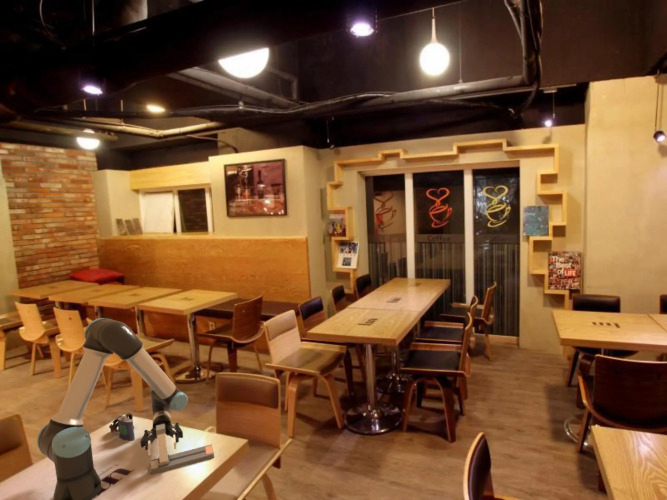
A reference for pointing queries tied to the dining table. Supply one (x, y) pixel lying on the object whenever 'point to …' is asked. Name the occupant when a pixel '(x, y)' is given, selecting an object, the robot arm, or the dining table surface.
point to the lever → (162, 445)
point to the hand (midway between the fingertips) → (162, 448)
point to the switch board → (183, 458)
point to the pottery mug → (115, 422)
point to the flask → (126, 428)
